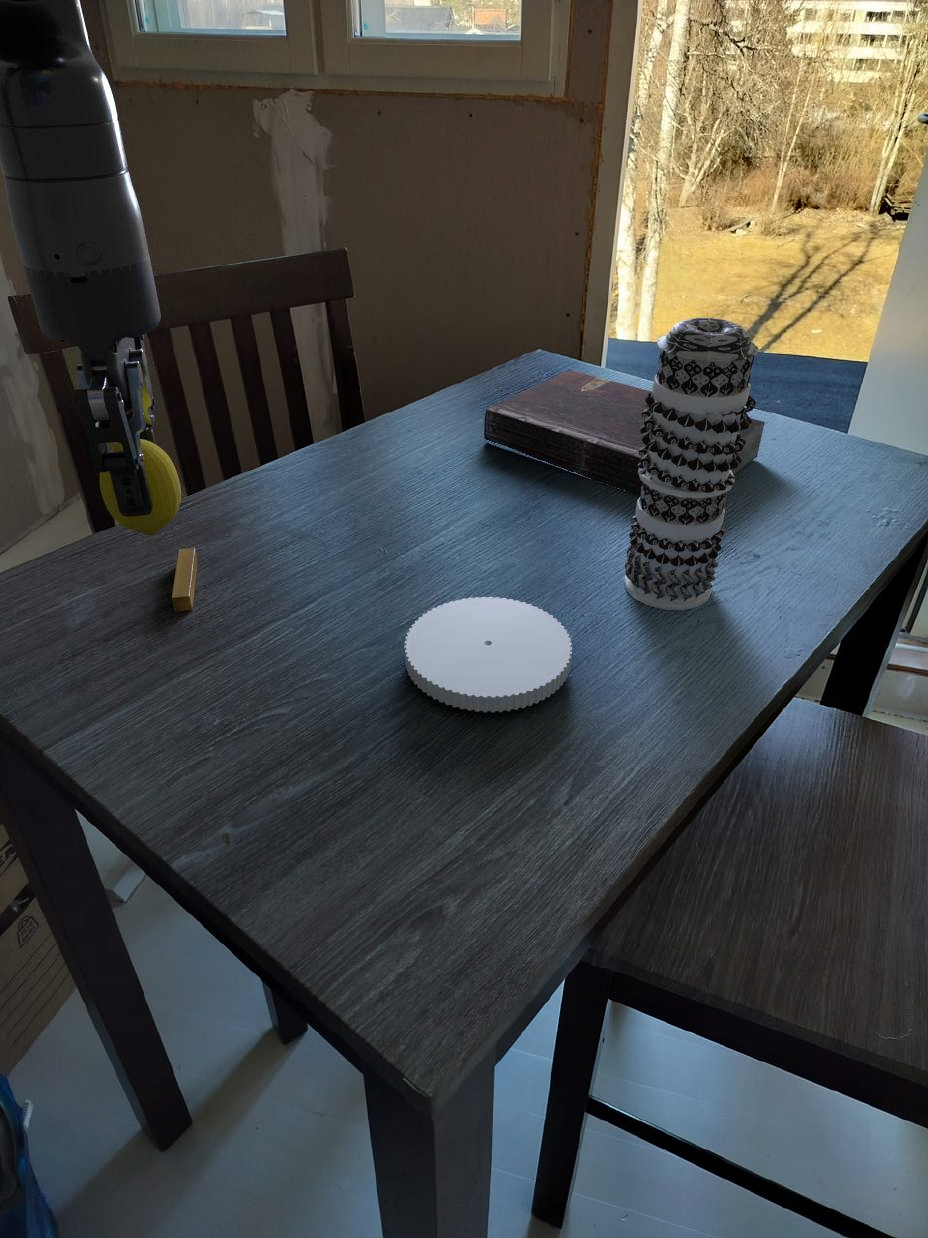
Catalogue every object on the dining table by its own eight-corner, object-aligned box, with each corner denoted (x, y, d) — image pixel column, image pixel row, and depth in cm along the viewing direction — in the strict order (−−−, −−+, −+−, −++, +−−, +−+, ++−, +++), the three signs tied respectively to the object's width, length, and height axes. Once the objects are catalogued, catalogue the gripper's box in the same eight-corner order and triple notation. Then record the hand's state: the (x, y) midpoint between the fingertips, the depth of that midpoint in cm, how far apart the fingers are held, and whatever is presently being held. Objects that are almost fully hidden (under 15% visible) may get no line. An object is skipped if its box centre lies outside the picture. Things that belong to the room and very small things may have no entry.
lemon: (99, 547, 64) (71, 447, 59) (139, 513, 68) (116, 418, 63) (165, 557, 62) (143, 456, 58) (202, 522, 67) (183, 425, 62)
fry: (174, 612, 79) (171, 597, 78) (181, 562, 86) (178, 548, 85) (192, 610, 79) (189, 596, 78) (198, 560, 86) (195, 547, 86)
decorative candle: (716, 618, 78) (774, 348, 64) (615, 605, 80) (650, 338, 66) (716, 568, 86) (768, 314, 71) (623, 556, 87) (656, 307, 73)
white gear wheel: (493, 602, 81) (494, 579, 79) (604, 672, 72) (607, 649, 70) (372, 660, 73) (371, 637, 72) (480, 747, 64) (480, 722, 63)
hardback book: (483, 443, 111) (484, 406, 108) (566, 403, 122) (569, 369, 119) (683, 513, 95) (691, 472, 92) (756, 459, 107) (764, 421, 104)
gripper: (46, 231, 59) (104, 458, 68) (-7, 283, 47) (71, 547, 57) (158, 228, 60) (200, 451, 70) (134, 278, 48) (187, 537, 58)
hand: (142, 493), depth 63 cm, fingers closed on lemon, 5 cm apart
